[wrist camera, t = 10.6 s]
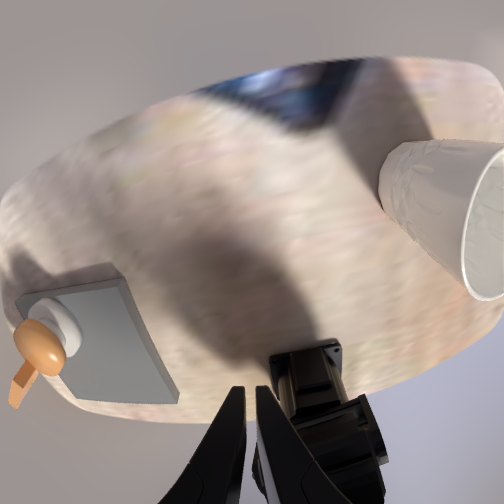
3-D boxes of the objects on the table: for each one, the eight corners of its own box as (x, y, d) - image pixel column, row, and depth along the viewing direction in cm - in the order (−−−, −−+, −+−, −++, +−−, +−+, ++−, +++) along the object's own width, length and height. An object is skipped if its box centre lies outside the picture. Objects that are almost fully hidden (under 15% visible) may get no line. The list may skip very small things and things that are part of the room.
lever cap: (34, 300, 17) (-1, 336, 13) (79, 340, 19) (51, 384, 14) (15, 359, 21) (-6, 389, 16) (49, 388, 22) (31, 421, 17)
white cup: (371, 125, 16) (473, 126, 7) (454, 141, 16) (551, 161, 7) (365, 235, 19) (441, 310, 10) (444, 234, 19) (525, 292, 10)
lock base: (179, 393, 26) (173, 424, 22) (78, 389, 26) (66, 413, 23) (124, 277, 20) (103, 305, 16) (20, 295, 21) (-2, 316, 17)
